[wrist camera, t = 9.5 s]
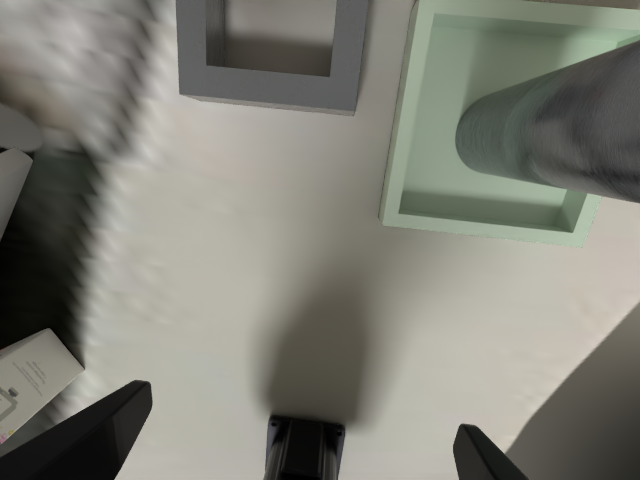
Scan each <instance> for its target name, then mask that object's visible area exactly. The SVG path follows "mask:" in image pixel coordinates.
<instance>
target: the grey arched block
mask: <svg viewBox="0 0 640 480" xmlns="http://www.w3.org/2000/svg"><path fill="white" fill-rule="evenodd" d="M32 162H33V160H32V159H31V158H30V157H29V156H28V155H26V154H25V153H24V152H22V151H21V150H19V149H18V148H16V147H14V148H11V149H9V150H7V149H4V148H1V149H0V241H1V238H2V236H3V233H4V231H5V228H6V226H7V224H8V221H9V219H10V216H11V214H12V211H13V209H14V206H15V204H16V202H17V199H18V197H19V194H20V192H21V189H22V187H23V184H24V182H25V180H26V177H27V175H28V172H29V170H30V167H31V165H32Z"/></svg>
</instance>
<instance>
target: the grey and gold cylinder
mask: <svg viewBox="0 0 640 480" xmlns="http://www.w3.org/2000/svg"><path fill="white" fill-rule="evenodd" d="M455 145H456V150H457V153H458V155H459V157H460V159H461V160H462V162H463V163H464V164H465V165H466V166H467V167H468V168H470V169H472V170H473V171H476V172H478V173H483V174H488V175H493V176H498V177H504V178H509V179H514V180H519V181H525V182H530V183H535V184H540V185H546V186H551V187H556V188H562V189H567V190H572V191H577V192H583V193H588V194H593V195H598V196H604V197H609V198H614V199H619V200H625V201H630V202H635V203H640V40H638V41H636V42H633V43H630V44H627V45H625V46H622V47H619V48H616V49H613V50H611V51H608V52H605V53H602V54H600V55H597V56H594V57H591V58H588V59H586V60H583V61H580V62H577V63H575V64H572V65H569V66H566V67H563V68H561V69H558V70H555V71H552V72H549V73H547V74H544V75H541V76H538V77H536V78H533V79H530V80H527V81H524V82H522V83H519V84H516V85H513V86H511V87H508V88H505V89H502V90H499V91H497V92H494V93H491V94H488V95H486V96H484V97H482V98H480V99H478V100H477V101H475V102H474V103H473V104H472V105H471V106H470V107H469V108H468V109H467V110H466V111H465V113H464V114H463V116H462V117H461V119H460V121H459V123H458V126H457V129H456V134H455Z"/></svg>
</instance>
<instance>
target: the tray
mask: <svg viewBox="0 0 640 480" xmlns="http://www.w3.org/2000/svg"><path fill="white" fill-rule="evenodd" d="M638 40H640V10H634V9H622V8H609V7H597V6H585V5H573V4H561V3H549V2H536V1H524V0H417V1H416V3H415V5H414V7H413V9H412V11H411V16H410V22H409V28H408V34H407V40H406V47H405V53H404V59H403V65H402V72H401V78H400V84H399V90H398V97H397V103H396V109H395V115H394V122H393V128H392V134H391V140H390V146H389V153H388V159H387V165H386V171H385V178H384V184H383V190H382V196H381V203H380V209H379V215H378V218H379V220H380V222H381V224H382V225H383V226H392V227H401V228H409V229H418V230H427V231H436V232H445V233H454V234H463V235H472V236H481V237H490V238H499V239H508V240H517V241H526V242H535V243H543V244H552V245H561V246H570V247H579V248H582V247H583V245H584V242H585V240H586V237H587V234H588V232H589V229H590V226H591V224H592V221H593V219H594V216H595V213H596V211H597V208H598V206H599V203H600V200H601V198H602V196H598V195H593V194H588V193H583V192H577V191H572V190H567V189H562V188H556V187H551V186H546V185H540V184H535V183H530V182H525V181H519V180H514V179H509V178H504V177H498V176H493V175H488V174H483V173H478V172H476V171H473V170H472V169H470V168H468V167H467V166H466V165H465V164H464V163H463V162H462V160H461V159H460V157H459V155H458V153H457V150H456V145H455V134H456V129H457V126H458V123H459V121H460V119H461V117H462V116H463V114H464V113H465V111H466V110H467V109H468V108H469V107H470V106H471V105H472V104H473V103H474V102H475V101H477V100H478V99H480V98H482V97H484V96H486V95H488V94H491V93H494V92H497V91H499V90H502V89H505V88H508V87H511V86H513V85H516V84H519V83H522V82H524V81H527V80H530V79H533V78H536V77H538V76H541V75H544V74H547V73H549V72H552V71H555V70H558V69H561V68H563V67H566V66H569V65H572V64H575V63H577V62H580V61H583V60H586V59H588V58H591V57H594V56H597V55H600V54H602V53H605V52H608V51H611V50H613V49H616V48H619V47H622V46H625V45H627V44H630V43H633V42H636V41H638Z"/></svg>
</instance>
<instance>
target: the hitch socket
mask: <svg viewBox="0 0 640 480" xmlns="http://www.w3.org/2000/svg"><path fill="white" fill-rule="evenodd" d="M368 2H369V0H337V8H336V18H335V28H334V39H333V49H332V60H331V70H330V77H324V76H313V75H302V74H292V73H281V72H270V71H260V70H249V69H239V68H228V67H224V0H176V18H177V43H178V68H179V93H180V94H181V95H184V96H187V97H190V98H193V99H196V100H199V101H207V102H217V103H227V104H237V105H247V106H257V107H268V108H278V109H288V110H298V111H308V112H318V113H328V114H339V115H349V116H353V115H354V113H355V107H356V99H357V91H358V83H359V75H360V67H361V59H362V50H363V42H364V34H365V26H366V18H367V10H368Z"/></svg>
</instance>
